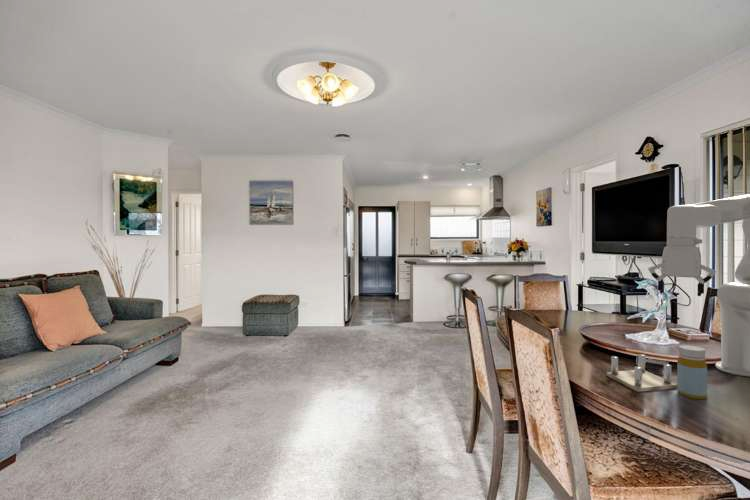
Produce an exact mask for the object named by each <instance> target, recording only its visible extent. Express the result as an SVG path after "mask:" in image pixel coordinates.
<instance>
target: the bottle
mask: <svg viewBox="0 0 750 500" xmlns="http://www.w3.org/2000/svg"><path fill="white" fill-rule="evenodd" d="M676 362H677V363H676V364H677V365H676V366H677V372H676V373H677V378H676V379H677V385H678V388H677V392H678V393H679V394H680V395H681V396H684V397H686V398H688V397H689V399H693V400H704V399H706V398H707V397H708V364H707V361H706V349H705V348H704V347H702V346H700V345H694V344H679V345H678V358H677V361H676Z"/></svg>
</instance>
